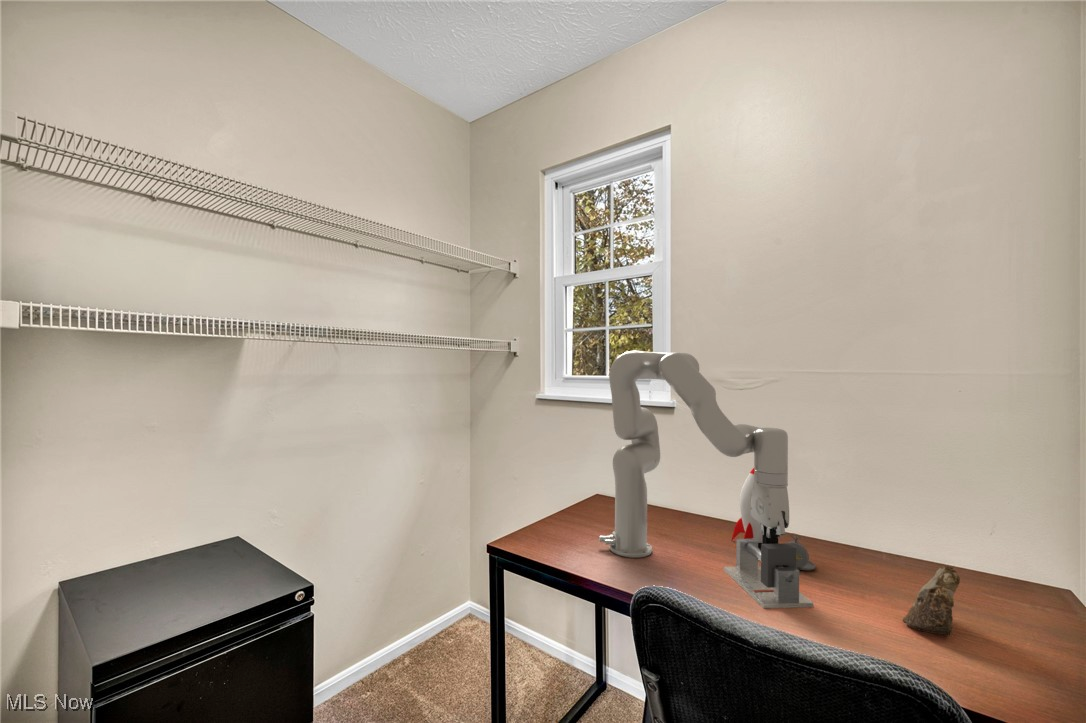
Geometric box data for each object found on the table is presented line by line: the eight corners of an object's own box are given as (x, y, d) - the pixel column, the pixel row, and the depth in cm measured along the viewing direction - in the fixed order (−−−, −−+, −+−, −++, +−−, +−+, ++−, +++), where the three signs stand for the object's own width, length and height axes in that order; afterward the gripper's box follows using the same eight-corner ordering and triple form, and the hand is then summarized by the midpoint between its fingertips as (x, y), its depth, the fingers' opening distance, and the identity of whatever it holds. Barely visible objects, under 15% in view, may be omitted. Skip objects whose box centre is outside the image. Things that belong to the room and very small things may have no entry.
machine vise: (763, 608, 108) (764, 571, 108) (723, 570, 128) (724, 539, 128) (813, 607, 108) (813, 570, 109) (766, 569, 128) (766, 538, 128)
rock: (899, 569, 112) (919, 548, 101) (940, 582, 109) (964, 563, 98) (894, 632, 105) (914, 617, 94) (937, 648, 102) (963, 635, 91)
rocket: (767, 542, 148) (768, 463, 149) (781, 556, 138) (782, 471, 138) (731, 540, 150) (732, 462, 150) (742, 554, 139) (742, 470, 139)
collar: (767, 587, 111) (767, 548, 111) (760, 581, 114) (761, 543, 114) (795, 587, 111) (796, 548, 111) (788, 581, 114) (788, 543, 114)
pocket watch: (812, 563, 133) (812, 528, 133) (819, 576, 125) (819, 538, 125) (780, 559, 135) (780, 524, 136) (785, 571, 127) (785, 534, 128)
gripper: (741, 471, 123) (740, 541, 123) (773, 485, 109) (772, 565, 108) (768, 471, 124) (768, 540, 124) (804, 485, 109) (803, 564, 109)
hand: (770, 551), depth 116 cm, fingers closed
